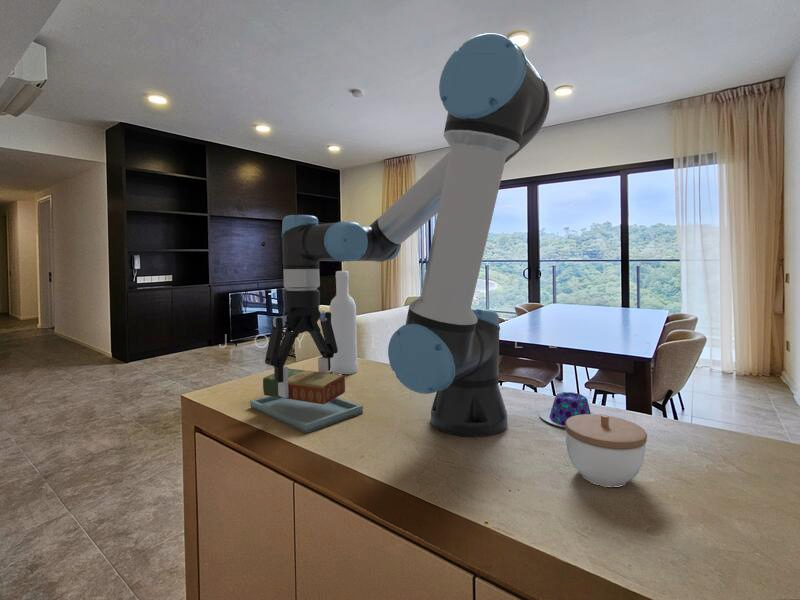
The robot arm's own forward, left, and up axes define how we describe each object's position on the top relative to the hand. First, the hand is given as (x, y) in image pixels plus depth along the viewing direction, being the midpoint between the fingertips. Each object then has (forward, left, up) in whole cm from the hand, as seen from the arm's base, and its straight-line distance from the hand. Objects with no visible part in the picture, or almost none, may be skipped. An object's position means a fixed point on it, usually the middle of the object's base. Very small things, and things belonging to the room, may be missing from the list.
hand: (304, 390), depth 91 cm
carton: (0, 0, -1) cm, 1 cm away
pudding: (-45, -33, -5) cm, 56 cm away
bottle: (+19, -27, -5) cm, 34 cm away
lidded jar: (-58, -13, -5) cm, 59 cm away
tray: (0, 0, -4) cm, 4 cm away
